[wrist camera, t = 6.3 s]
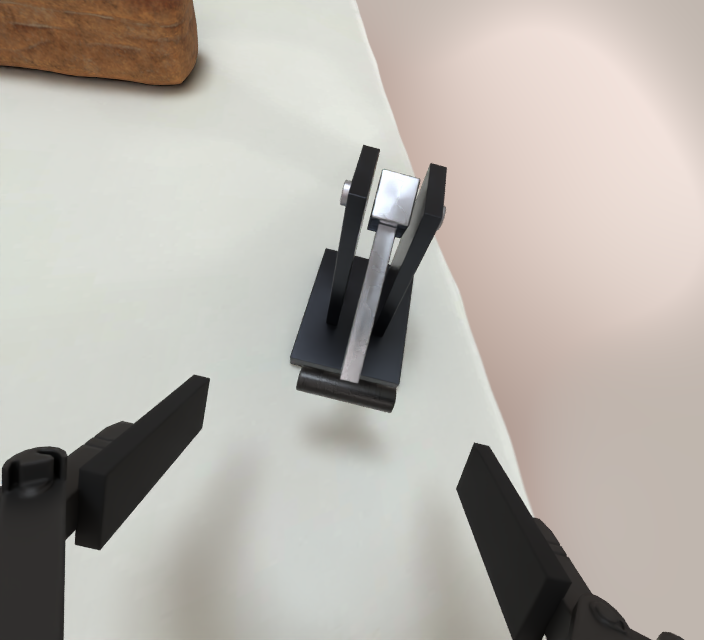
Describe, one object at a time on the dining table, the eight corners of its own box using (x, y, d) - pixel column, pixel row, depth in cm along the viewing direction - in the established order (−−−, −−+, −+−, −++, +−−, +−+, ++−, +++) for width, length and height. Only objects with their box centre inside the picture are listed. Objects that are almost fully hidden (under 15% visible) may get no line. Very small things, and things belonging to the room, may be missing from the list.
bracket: (395, 389, 28) (480, 286, 15) (289, 363, 28) (286, 236, 15) (410, 278, 34) (480, 139, 21) (324, 256, 34) (343, 102, 21)
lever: (387, 408, 20) (393, 417, 18) (298, 386, 20) (293, 393, 18) (436, 202, 21) (449, 185, 19) (352, 180, 21) (353, 160, 18)
